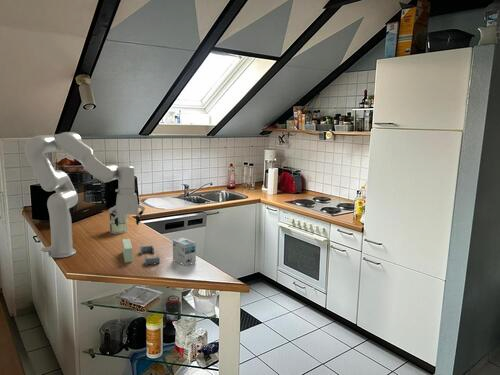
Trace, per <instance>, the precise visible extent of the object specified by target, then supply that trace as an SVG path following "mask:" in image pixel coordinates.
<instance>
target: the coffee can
mask: <svg viewBox="0 0 500 375" xmlns="http://www.w3.org/2000/svg"><path fill="white" fill-rule="evenodd" d="M112 212H113V213H114V214H116V213H117V212H116V209H114V210H113V211H112ZM109 232H110V234H115V235H117V234H124V233H127V232H128V215H119V216H118V226H116V224H115V218H114V217H113V216H112V215H111V214H110V213H109Z"/></svg>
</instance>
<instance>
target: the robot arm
mask: <svg viewBox="0 0 500 375" xmlns="http://www.w3.org/2000/svg"><path fill="white" fill-rule="evenodd" d="M62 151H63V152H64V153H66V154H68V155H69V156H70V157H72V158H73V159H75V160H76V161H78V162H79V163H81V166H82V167H83V168H84V170H86V172H88V173H89V174H90V175H92V176H93V177H94V178H95V179H97V180H99V181H101V182H102V183H110V182H112V181H115V180H118V183H117V184H118V188H115V193H117V194H116V201H115V205H114V206H113V207H110V208H109V209H108V212H109V215H110V214H111V215H112V216H113V217H114V218H115V224H116V226H118V216H119V215H127V216H128V215H136V216H135V224H136V226H139V223H140V219H141V218H140V217H141V216H142V215H143V214H144V211H145V209H146V207H145V206H143V205H140V204H139V201H138V195H137V193H136V192H135V188H136V187H135V168H134V166H132V165H119V164H108V165H106V164H104V163H102V162H101V161H99V159H97V158H96V157H95V156H94V150H93V148H91V147H90V146H88V145H87V144H86V143H84V142H83V139H82V136H80V135H79V133H77V132H73V131H65V132H60V133H57V134H56V133H55V134H46V135H45V134H41V135H35V136H32V137H31V138H29V139H28V140H27V141H26V143H25V146H24V155H25V157H26V160H27V161H28V163H29V165H30V167H31V168H32V171H33V174H34V175H35V177H36V179H37V182H38V183H39V185H40V186H41V189H43V190H44V191H45V192H53V191H55V193H53V194H51V195H50V196H49V197H48V198H47V202H46V206H47V209H48V210H47V211H48V215H49V225H50V242H51V245H50V246H46V247H45V246H44V247H43V246H42V247H41V252H43V253H47V252H48V257H50V258H53V259H54V258H55V259H56V258H57V259H61V258H62V259H63V258H68V257H72V256H74V255H75V254H76V253H77V250H76V249H75V248H73V246H74V245H73V229H72V228H73V227H72V226H73V224H72V216H71V213H70V209H71V208H73V207H75V206H76V205H77V204H78V202H79V195H78V192H77V191H76V189H75V187H74V185H73V183H72V181H71V178H70V177H69V175H68V174H67V173H66V172H65V171H63V170H60V169H55V168H54V167H53V165H52V162H51V161H50V160H49V158H48V157H47V156H46V155H45V154H46V153H53V152H62ZM114 209H116V212H117V213H116V214H114V213H113V212H112V211H113V210H114ZM139 209H141V210H140V211H139Z"/></svg>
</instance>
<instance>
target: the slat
mask: <svg viewBox="0 0 500 375" xmlns="http://www.w3.org/2000/svg"><path fill="white" fill-rule="evenodd" d="M122 254H123V259H124V260H123V261H124V263H132V262H133V247H132V242H131V239H130V238H123V239H122Z"/></svg>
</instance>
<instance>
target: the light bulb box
mask: <svg viewBox="0 0 500 375" xmlns="http://www.w3.org/2000/svg"><path fill="white" fill-rule="evenodd" d="M173 260H175V261H177V262H176V263H178V262H179V263H178V264H180V263H182V264H184V265H187V266H189V265H188V264H190V265H192V264H191V263H194V264H196V263H197V242H196V241H193V240H190V239H187V238H185V237H180V238H175V239H172V261H173ZM175 261H174V262H175ZM195 262H196V263H195ZM182 264H181V265H182ZM184 265H183V266H184Z"/></svg>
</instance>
